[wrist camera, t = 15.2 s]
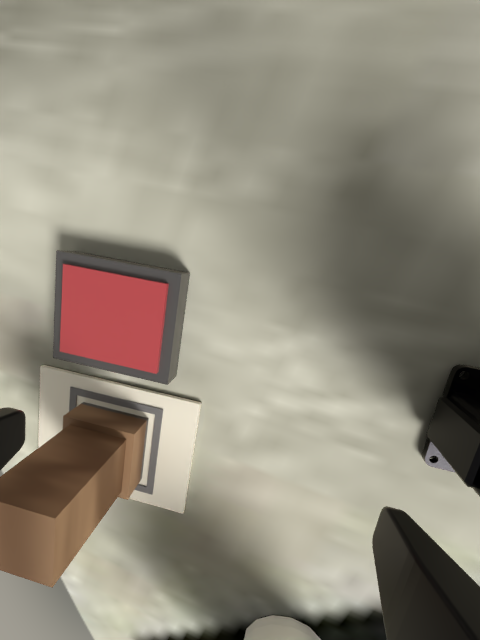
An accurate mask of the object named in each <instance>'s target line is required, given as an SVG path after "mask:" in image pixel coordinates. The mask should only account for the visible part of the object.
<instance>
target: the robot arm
mask: <svg viewBox="0 0 480 640" xmlns="http://www.w3.org/2000/svg"><path fill="white" fill-rule="evenodd" d="M463 371H465V375H464V376H462V377H459V375H460V373H461V372H463ZM427 436H428V438H427V441H426V444H425V447H424V450H423V452H422V458H423V460H424V461H425V462H426V464H427V465H429V466H431V467H435V468H439V469H443V470H448V471H452V472H456V473H457V474H458V476H459V477H460V478H461V479H462V481H463V482H464V483H465V484H466V485H467V486H468V487H471V488H473V489H474V490H475V491H476V493H477V494H478V495H479V496H480V368H476V367H472V366H467V365H457V366H455V367H454V368H453V369H452V371H451V373H450V376H449V379H448V381H447V384H446V387H445V390H444V393H443V396H442V397H441V398H440V399H439V400H438V403H437V406H436V409H435V412H434V415H433V418H432V420H431V423H430V426H429V429H428V432H427ZM24 441H25V414H24V412H23V411H21V410H17V409H13V408H2V409H0V470H1V469H2V468H3V467H4V466H5V465H6V464H7V463H8V462H9V461H10V459H11V458H12V457H13V456H14V455H15V454H16V453H17V452H18V451H19V450H20V449H21V447H22V446H23V444H24ZM431 456H435V457H434V458H433V459H429V458H430V457H431ZM372 544H373V553H374V559H375V566H376V573H377V579H378V586H379V592H380V599H381V606H382V612H383V619H384V625H385V630H386V636H387V640H480V586H479V585H478V584H477V583H476V582H475V581H474V580H473V579H472V578H471V577H470V576H469V575H468V574H467V573H466V572H465V571H464V570H463V569H462V568H461V567H460V566H459V565H458V564H457V563H456V562H455V561H454V560H453V559H452V558H451V557H450V556H449V555H448V554H447V553H446V552H445V551H444V550H443V549H442V548H441V547H440V546H439V545H438V544H437V543H436V542H435V541H434V540H433V539H432V538H431V537H430V536H429V535H428V534H427V533H426V532H425V531H424V530H423V529H422V528H421V527H420V526H419V525H418V524H417V523H416V522H415V521H414V520H413V519H412V518H411V517H410V516H409V515H408V514H407V513H405V512H404V511H402V510H399V509H395V508H391V507H384V508H383V509H382V511H381V513H380V516H379V519H378V522H377V525H376V528H375V531H374V534H373V541H372Z"/></svg>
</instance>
